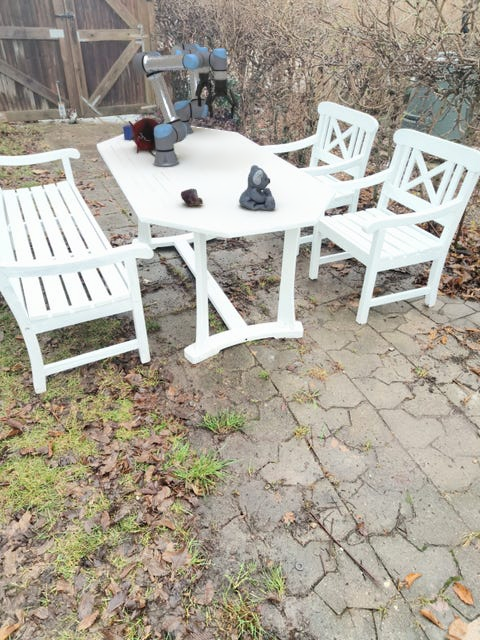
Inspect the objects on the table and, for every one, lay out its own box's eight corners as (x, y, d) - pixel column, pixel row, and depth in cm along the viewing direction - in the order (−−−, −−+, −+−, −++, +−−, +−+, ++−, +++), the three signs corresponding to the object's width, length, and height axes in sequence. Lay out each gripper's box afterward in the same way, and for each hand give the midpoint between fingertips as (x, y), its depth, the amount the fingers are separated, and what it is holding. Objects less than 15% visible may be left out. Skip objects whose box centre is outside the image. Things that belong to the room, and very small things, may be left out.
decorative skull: (132, 124, 330) (125, 120, 306) (163, 117, 329) (158, 113, 306) (140, 154, 337) (134, 153, 313) (170, 147, 336) (166, 145, 312)
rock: (196, 202, 238) (178, 205, 233) (194, 185, 234) (176, 188, 230) (205, 205, 228) (187, 208, 224) (203, 188, 224) (185, 191, 220)
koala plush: (276, 211, 223) (277, 171, 212) (240, 212, 222) (240, 172, 211) (271, 199, 237) (272, 161, 226) (237, 200, 236) (237, 162, 225)
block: (130, 140, 349) (128, 127, 344) (124, 139, 351) (122, 126, 345) (135, 138, 355) (133, 125, 350) (129, 137, 357) (127, 124, 351)
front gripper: (242, 79, 263) (242, 118, 275) (203, 77, 270) (205, 115, 282) (238, 80, 257) (239, 120, 269) (198, 79, 264) (200, 118, 276)
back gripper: (197, 74, 310) (199, 108, 322) (218, 70, 327) (218, 102, 340) (188, 74, 313) (190, 107, 326) (209, 70, 331) (210, 101, 343)
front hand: (221, 118), depth 276 cm, fingers open, 13 cm apart
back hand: (205, 105), depth 333 cm, fingers open, 13 cm apart
